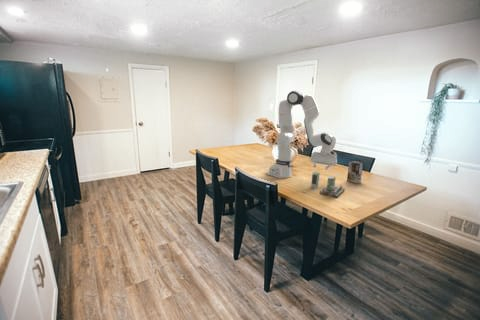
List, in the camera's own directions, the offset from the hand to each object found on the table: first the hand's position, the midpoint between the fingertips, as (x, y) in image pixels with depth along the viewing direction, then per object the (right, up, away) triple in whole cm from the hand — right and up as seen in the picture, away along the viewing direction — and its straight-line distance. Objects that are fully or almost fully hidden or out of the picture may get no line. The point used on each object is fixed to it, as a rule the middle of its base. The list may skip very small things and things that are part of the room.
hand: (320, 168), depth 191 cm
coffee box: (+31, -11, +12) cm, 35 cm away
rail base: (+5, -17, -13) cm, 22 cm away
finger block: (-5, -14, -3) cm, 16 cm away
